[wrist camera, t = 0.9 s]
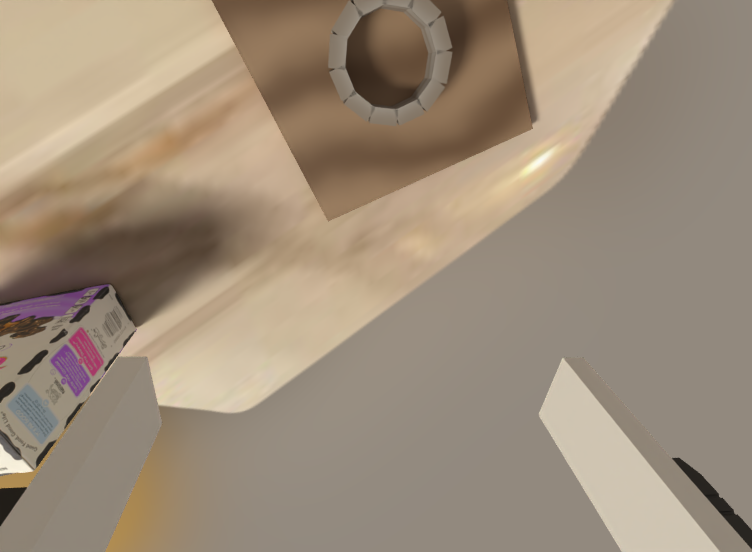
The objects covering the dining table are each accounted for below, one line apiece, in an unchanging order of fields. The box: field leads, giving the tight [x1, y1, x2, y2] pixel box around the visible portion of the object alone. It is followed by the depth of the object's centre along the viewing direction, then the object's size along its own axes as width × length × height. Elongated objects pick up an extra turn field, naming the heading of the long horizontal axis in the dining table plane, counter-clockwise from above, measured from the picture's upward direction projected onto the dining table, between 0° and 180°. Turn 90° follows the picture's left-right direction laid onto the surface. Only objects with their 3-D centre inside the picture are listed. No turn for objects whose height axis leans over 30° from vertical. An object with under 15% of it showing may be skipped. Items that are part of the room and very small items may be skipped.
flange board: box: [212, 0, 533, 221], centre depth 30 cm, size 20×20×4 cm
